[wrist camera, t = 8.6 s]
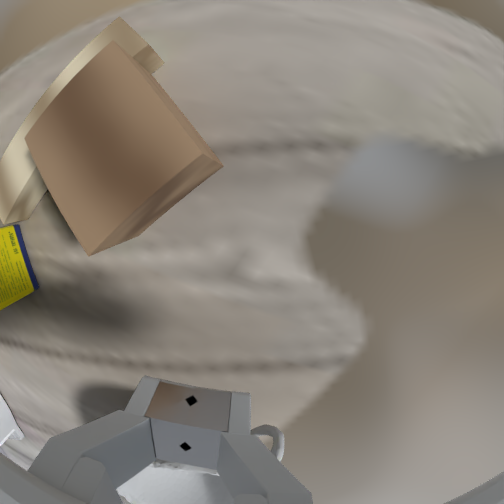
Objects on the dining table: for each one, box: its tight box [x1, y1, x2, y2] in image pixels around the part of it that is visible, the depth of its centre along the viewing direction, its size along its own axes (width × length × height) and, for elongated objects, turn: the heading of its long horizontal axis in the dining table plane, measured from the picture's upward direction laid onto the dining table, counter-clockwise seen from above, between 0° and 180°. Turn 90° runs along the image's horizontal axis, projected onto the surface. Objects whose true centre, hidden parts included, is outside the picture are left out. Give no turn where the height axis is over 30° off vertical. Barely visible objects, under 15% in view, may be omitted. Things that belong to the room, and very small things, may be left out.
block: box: [24, 40, 223, 256], centre depth 13 cm, size 7×8×6 cm
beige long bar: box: [0, 17, 164, 225], centre depth 14 cm, size 16×4×3 cm, turn 129°
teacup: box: [117, 425, 284, 504], centre depth 17 cm, size 15×12×8 cm
